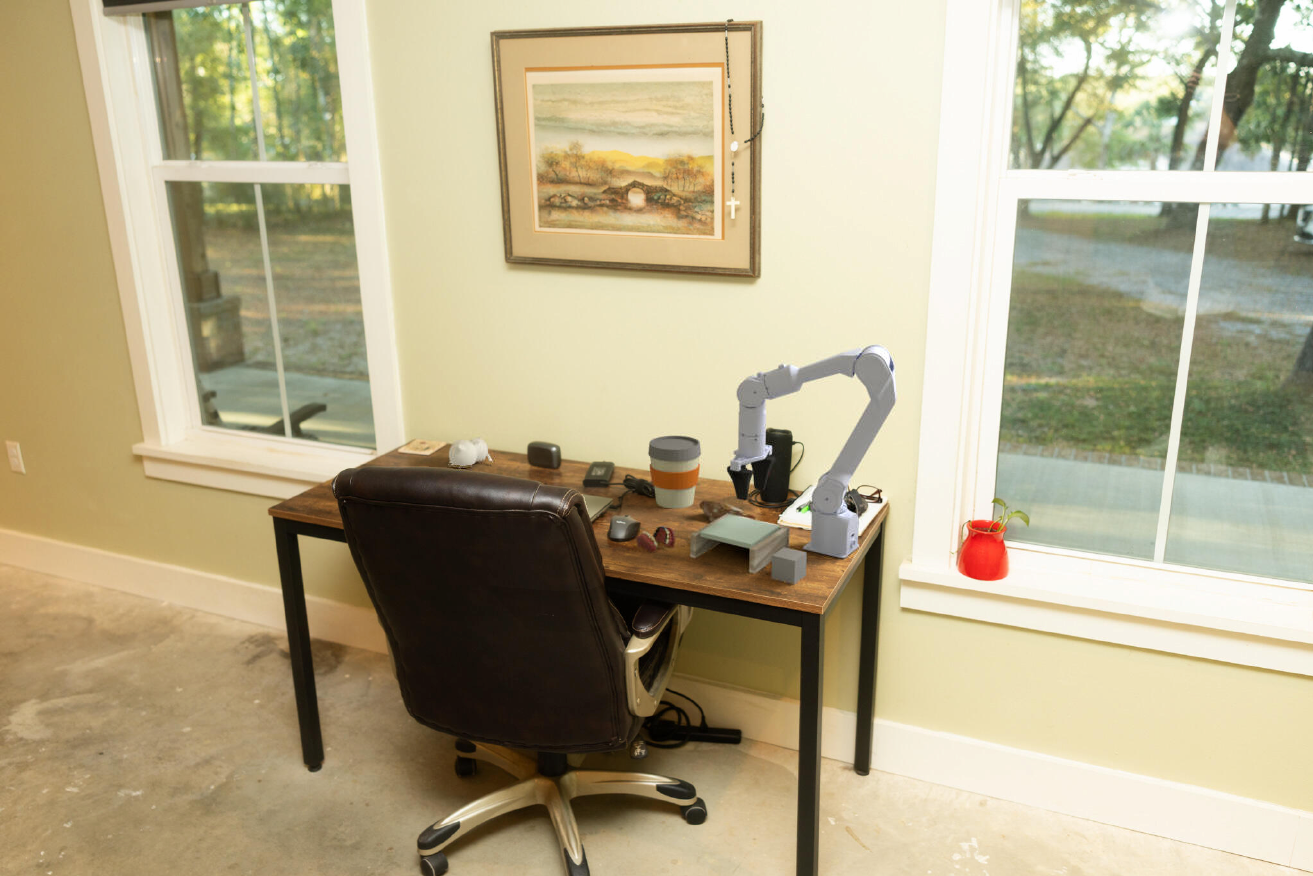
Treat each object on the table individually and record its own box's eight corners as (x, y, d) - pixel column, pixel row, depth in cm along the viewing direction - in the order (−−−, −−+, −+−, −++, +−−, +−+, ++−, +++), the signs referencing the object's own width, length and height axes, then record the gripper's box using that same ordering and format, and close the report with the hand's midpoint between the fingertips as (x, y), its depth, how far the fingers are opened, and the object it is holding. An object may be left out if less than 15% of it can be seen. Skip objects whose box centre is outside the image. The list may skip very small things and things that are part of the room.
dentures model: (632, 528, 205) (663, 521, 209) (632, 546, 206) (663, 538, 210) (647, 537, 200) (678, 529, 205) (647, 556, 202) (678, 547, 206)
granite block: (805, 576, 190) (806, 552, 189) (794, 584, 186) (795, 561, 185) (783, 570, 193) (783, 547, 192) (771, 579, 189) (772, 555, 188)
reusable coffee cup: (666, 514, 224) (665, 453, 220) (639, 499, 234) (638, 440, 230) (710, 504, 230) (711, 444, 226) (683, 490, 241) (682, 432, 236)
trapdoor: (729, 519, 208) (729, 514, 208) (779, 530, 201) (779, 525, 201) (700, 536, 199) (700, 532, 198) (750, 548, 192) (750, 544, 192)
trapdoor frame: (788, 549, 203) (789, 527, 202) (754, 573, 191) (755, 550, 190) (726, 534, 211) (727, 513, 210) (690, 556, 200) (690, 534, 198)
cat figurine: (480, 427, 265) (449, 435, 255) (505, 451, 261) (475, 461, 252) (469, 450, 269) (437, 459, 259) (493, 475, 266) (463, 485, 256)
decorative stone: (718, 489, 226) (771, 510, 217) (716, 506, 227) (769, 528, 219) (693, 499, 219) (747, 521, 210) (691, 517, 220) (745, 539, 212)
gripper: (752, 422, 210) (751, 481, 214) (717, 438, 199) (717, 500, 202) (781, 427, 206) (779, 487, 210) (747, 443, 195) (746, 506, 198)
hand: (750, 494), depth 206 cm, fingers open, 7 cm apart
